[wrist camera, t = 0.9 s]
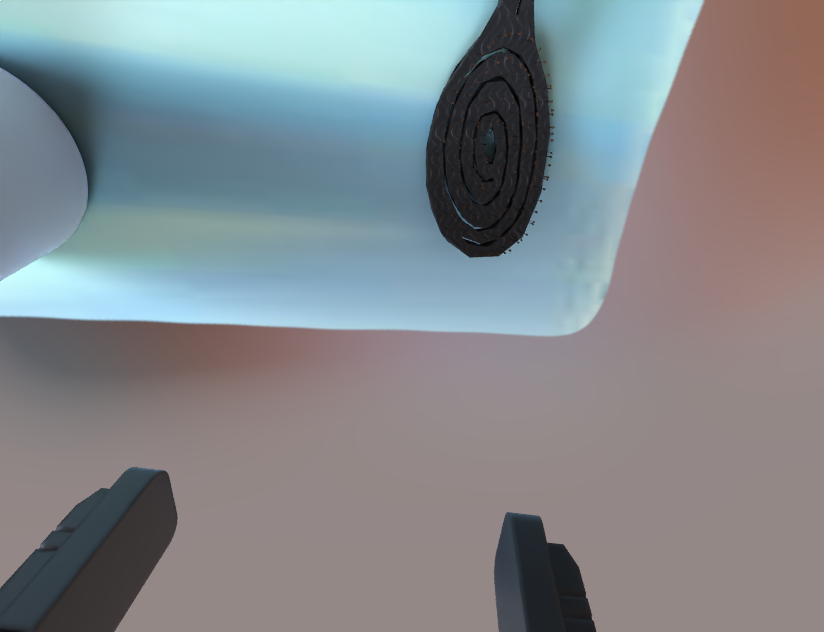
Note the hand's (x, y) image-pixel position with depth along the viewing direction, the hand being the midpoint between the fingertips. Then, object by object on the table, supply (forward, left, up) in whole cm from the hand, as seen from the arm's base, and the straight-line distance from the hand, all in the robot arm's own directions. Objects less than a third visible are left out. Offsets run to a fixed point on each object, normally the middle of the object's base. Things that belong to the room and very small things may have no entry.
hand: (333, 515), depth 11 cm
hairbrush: (0, +14, -25) cm, 29 cm away
